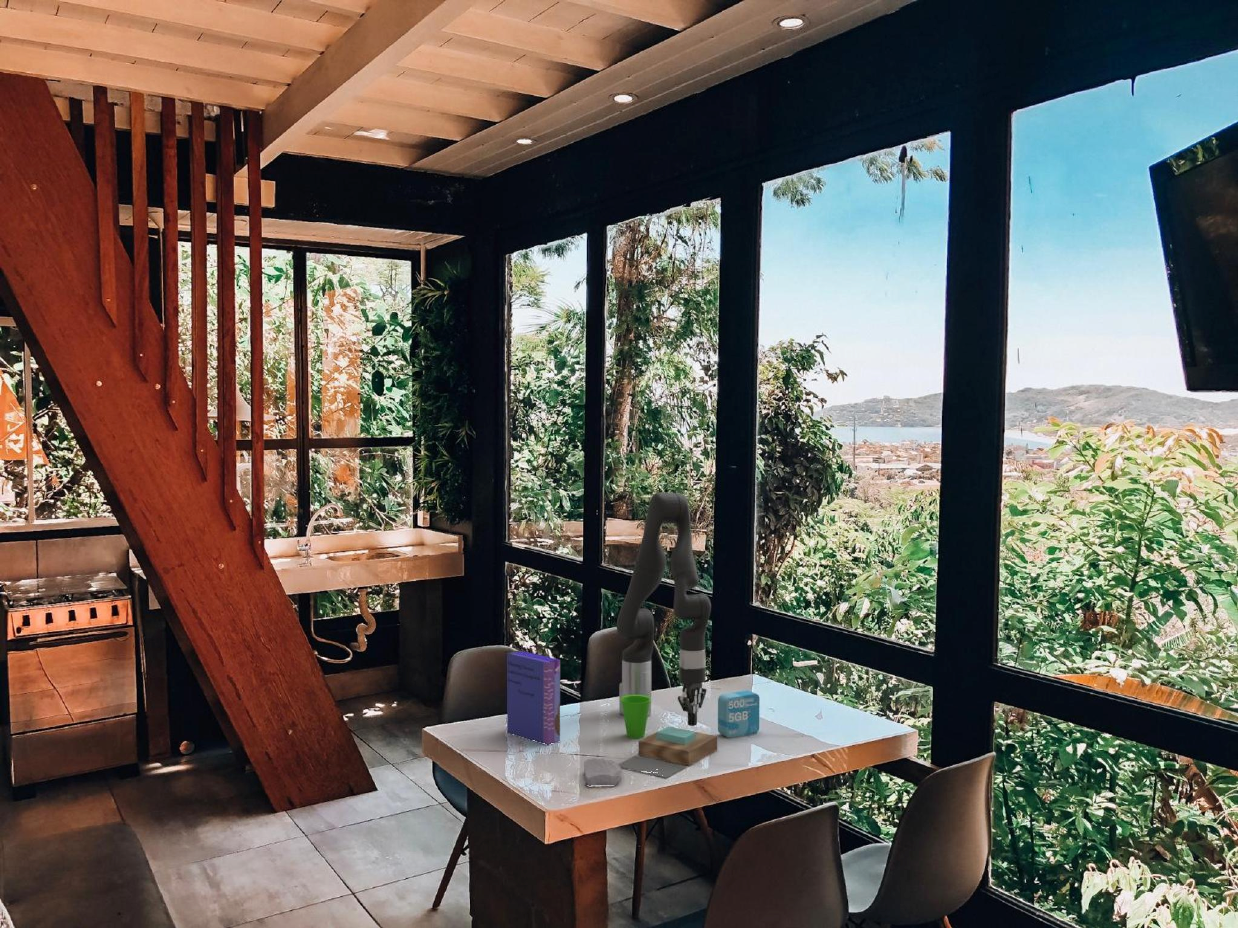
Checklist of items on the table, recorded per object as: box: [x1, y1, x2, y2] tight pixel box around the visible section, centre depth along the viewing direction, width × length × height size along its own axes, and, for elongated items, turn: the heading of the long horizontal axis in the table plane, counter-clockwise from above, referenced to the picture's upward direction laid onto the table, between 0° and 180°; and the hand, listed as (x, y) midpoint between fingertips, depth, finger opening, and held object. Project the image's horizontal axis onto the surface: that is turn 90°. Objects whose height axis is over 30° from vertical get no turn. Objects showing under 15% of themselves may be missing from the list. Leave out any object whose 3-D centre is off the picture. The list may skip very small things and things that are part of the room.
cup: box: [620, 695, 652, 739], centre depth 290 cm, size 9×9×11 cm
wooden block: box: [637, 726, 718, 767], centre depth 275 cm, size 16×16×4 cm
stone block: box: [583, 757, 623, 786], centre depth 254 cm, size 12×5×10 cm
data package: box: [717, 690, 761, 739], centre depth 293 cm, size 12×4×12 cm, turn 118°
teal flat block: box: [656, 726, 697, 745], centre depth 274 cm, size 9×6×2 cm, turn 56°
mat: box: [618, 755, 687, 779], centre depth 263 cm, size 16×10×1 cm, turn 56°
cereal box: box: [506, 650, 561, 746], centre depth 288 cm, size 17×5×24 cm, turn 48°
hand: (692, 724), depth 281 cm, fingers closed
